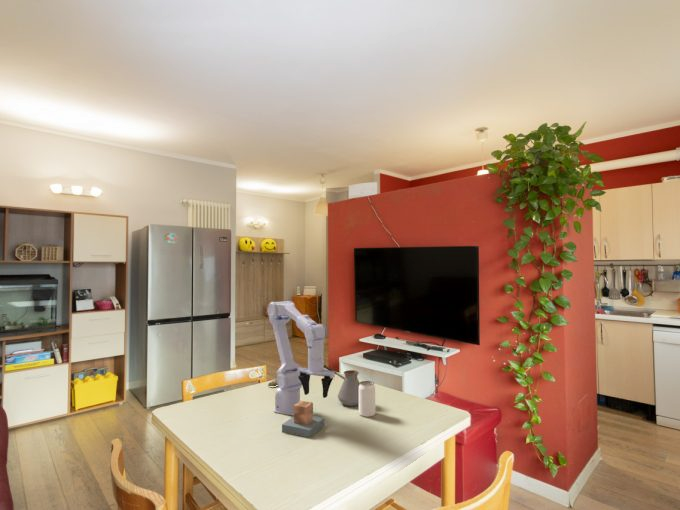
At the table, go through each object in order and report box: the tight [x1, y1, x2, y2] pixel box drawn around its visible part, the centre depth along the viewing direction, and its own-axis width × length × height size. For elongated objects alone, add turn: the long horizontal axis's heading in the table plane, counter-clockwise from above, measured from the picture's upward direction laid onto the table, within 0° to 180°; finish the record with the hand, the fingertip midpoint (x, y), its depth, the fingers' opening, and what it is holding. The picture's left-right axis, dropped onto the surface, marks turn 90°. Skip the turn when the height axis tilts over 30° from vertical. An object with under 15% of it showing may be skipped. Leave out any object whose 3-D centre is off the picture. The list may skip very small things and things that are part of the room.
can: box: [358, 380, 376, 418], centre depth 143 cm, size 6×6×12 cm
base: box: [281, 415, 325, 438], centre depth 130 cm, size 11×11×2 cm
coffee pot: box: [324, 364, 360, 407], centre depth 157 cm, size 21×12×15 cm, turn 63°
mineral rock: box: [268, 378, 278, 387], centre depth 180 cm, size 11×4×8 cm
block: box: [293, 400, 314, 425], centre depth 130 cm, size 5×5×6 cm
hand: (315, 395), depth 134 cm, fingers open, 7 cm apart
